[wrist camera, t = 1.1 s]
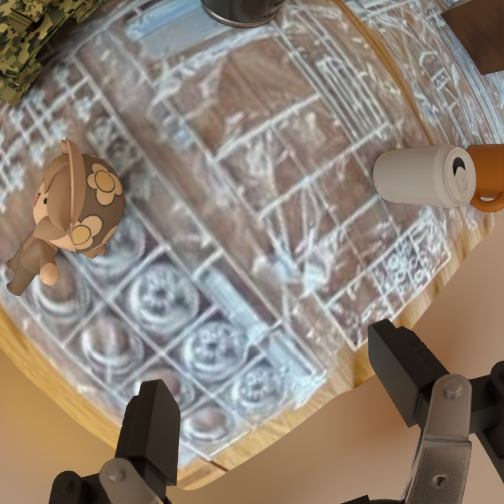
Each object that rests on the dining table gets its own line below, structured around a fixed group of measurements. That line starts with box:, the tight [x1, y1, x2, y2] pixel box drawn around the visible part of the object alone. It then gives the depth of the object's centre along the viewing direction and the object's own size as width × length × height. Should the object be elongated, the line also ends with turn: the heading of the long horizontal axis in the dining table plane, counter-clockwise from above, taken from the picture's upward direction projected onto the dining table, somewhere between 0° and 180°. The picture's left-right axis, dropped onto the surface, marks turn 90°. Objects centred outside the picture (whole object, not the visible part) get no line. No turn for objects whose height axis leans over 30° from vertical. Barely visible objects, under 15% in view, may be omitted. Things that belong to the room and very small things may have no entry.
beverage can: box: [373, 144, 476, 208], centre depth 29 cm, size 6×6×12 cm
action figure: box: [6, 138, 125, 296], centre depth 23 cm, size 10×11×15 cm
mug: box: [466, 144, 504, 212], centre depth 34 cm, size 9×12×9 cm
